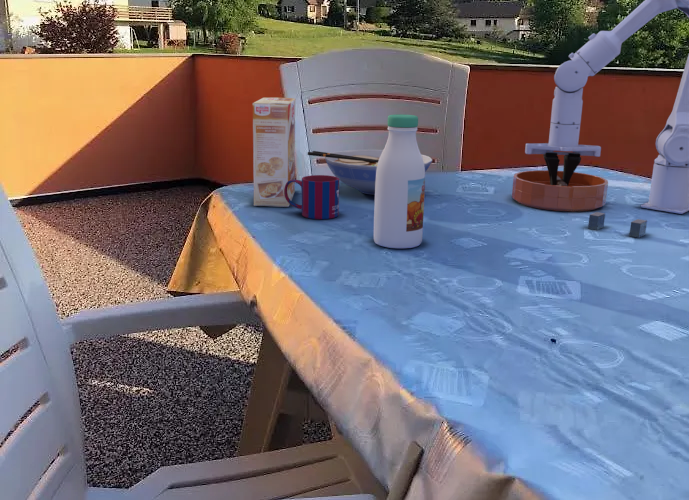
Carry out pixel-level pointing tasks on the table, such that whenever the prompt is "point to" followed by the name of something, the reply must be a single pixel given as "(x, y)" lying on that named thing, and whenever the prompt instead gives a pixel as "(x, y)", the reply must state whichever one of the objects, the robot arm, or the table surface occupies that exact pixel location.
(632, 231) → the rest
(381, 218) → the milk bottle
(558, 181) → the brown rod
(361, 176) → the ramen bowl
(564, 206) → the bowl
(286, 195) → the mug
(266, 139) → the coffeecake box
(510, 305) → the table surface
